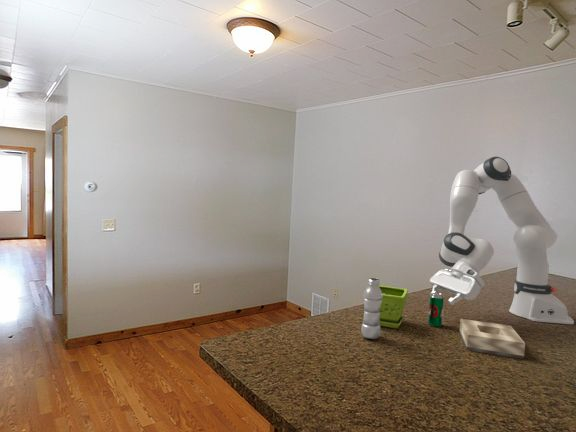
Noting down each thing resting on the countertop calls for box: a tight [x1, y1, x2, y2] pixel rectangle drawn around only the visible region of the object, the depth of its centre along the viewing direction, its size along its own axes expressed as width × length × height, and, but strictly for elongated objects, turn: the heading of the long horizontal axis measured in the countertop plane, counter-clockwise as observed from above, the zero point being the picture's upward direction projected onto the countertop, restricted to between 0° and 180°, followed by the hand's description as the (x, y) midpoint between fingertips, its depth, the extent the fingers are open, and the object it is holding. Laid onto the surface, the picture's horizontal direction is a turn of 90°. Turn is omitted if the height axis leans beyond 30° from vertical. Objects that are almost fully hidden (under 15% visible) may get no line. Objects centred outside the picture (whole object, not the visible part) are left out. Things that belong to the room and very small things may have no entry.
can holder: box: [458, 318, 526, 360], centre depth 121 cm, size 16×16×5 cm
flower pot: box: [379, 285, 409, 329], centre depth 136 cm, size 14×14×13 cm
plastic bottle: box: [360, 277, 384, 340], centre depth 121 cm, size 6×7×20 cm
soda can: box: [427, 292, 445, 328], centre depth 137 cm, size 5×5×12 cm
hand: (441, 299), depth 138 cm, fingers open, 8 cm apart
